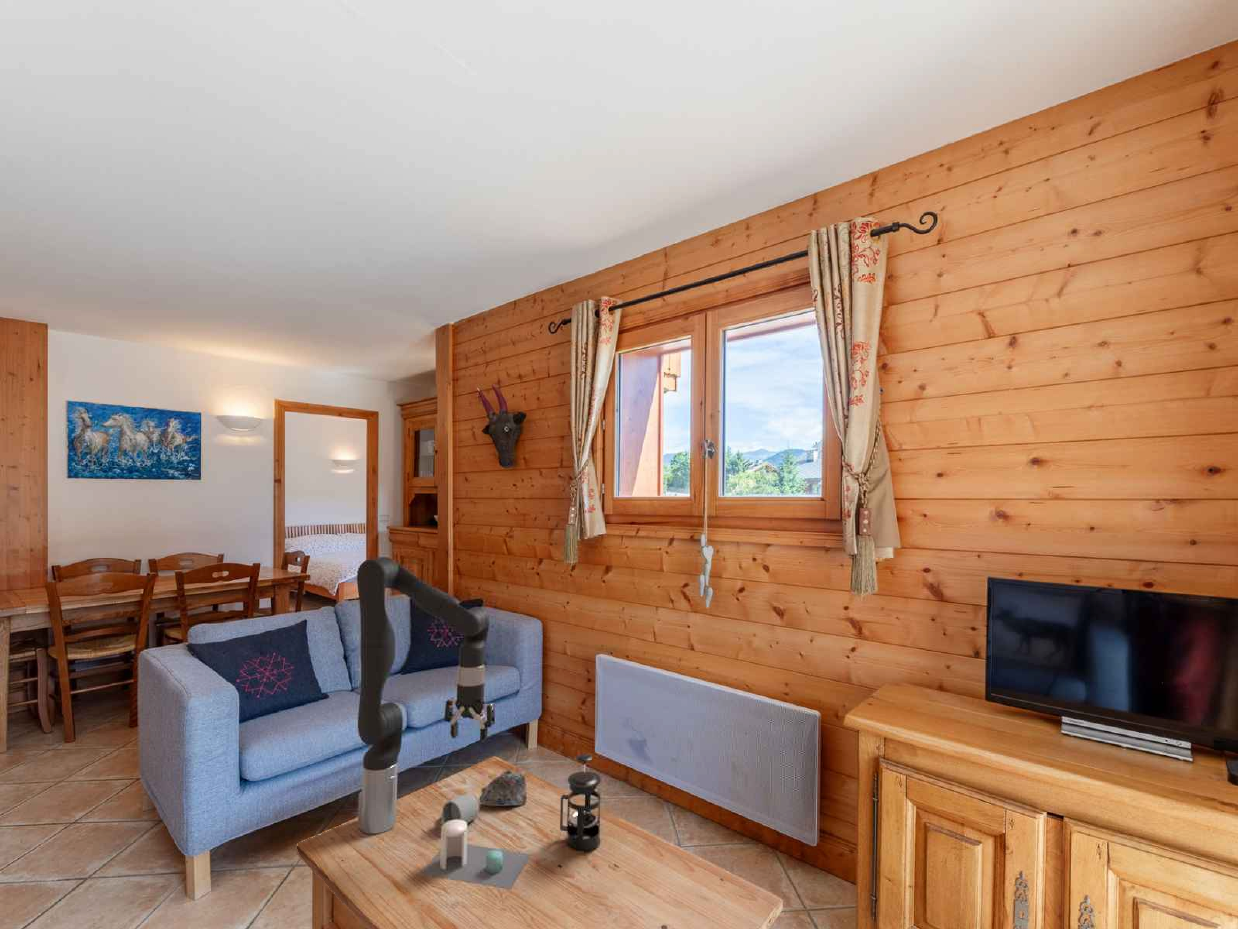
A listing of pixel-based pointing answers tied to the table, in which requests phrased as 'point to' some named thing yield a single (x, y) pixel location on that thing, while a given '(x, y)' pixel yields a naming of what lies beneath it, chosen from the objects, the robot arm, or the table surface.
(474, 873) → the mat
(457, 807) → the ceramic mug
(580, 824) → the french press
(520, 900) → the table surface
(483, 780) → the table surface
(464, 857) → the cover cup
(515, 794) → the mineral rock
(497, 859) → the teal egg-shaped capsule
